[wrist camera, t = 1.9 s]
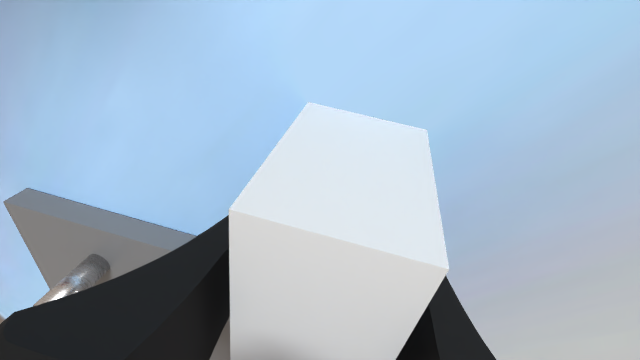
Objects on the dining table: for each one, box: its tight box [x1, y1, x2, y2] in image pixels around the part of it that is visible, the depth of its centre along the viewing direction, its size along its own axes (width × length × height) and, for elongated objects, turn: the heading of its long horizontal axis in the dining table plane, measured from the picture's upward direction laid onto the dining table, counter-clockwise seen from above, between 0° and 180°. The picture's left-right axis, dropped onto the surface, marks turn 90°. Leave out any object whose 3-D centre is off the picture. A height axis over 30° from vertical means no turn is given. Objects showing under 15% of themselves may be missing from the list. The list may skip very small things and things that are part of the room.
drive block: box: [229, 102, 449, 360], centre depth 10 cm, size 4×8×6 cm, turn 171°
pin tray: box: [4, 188, 230, 360], centre depth 19 cm, size 12×16×4 cm
